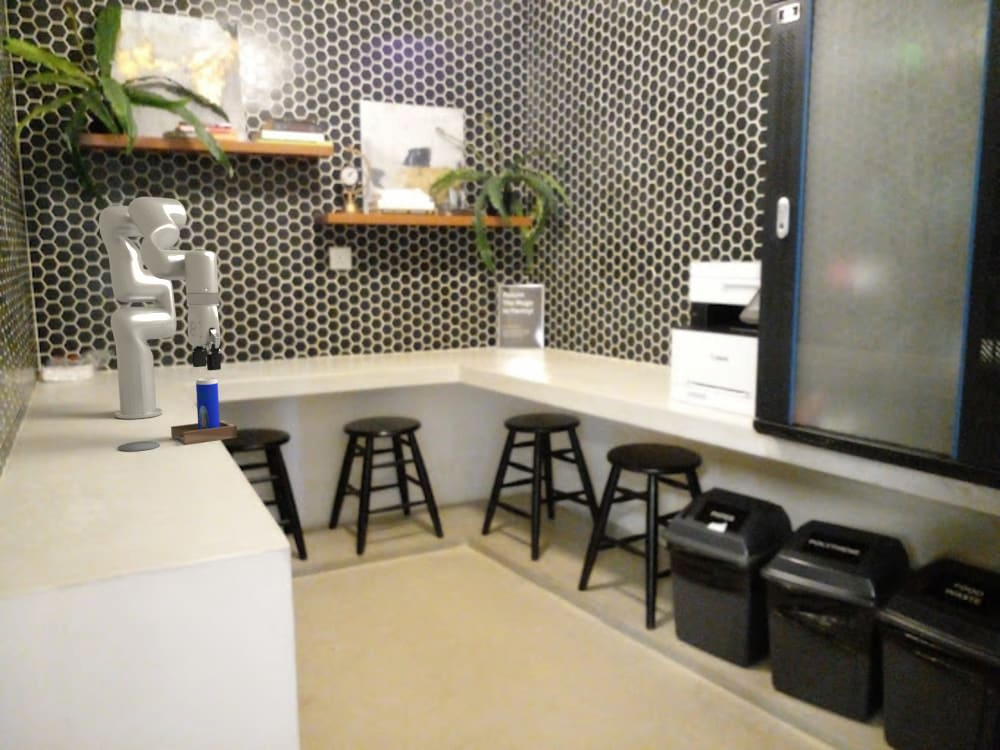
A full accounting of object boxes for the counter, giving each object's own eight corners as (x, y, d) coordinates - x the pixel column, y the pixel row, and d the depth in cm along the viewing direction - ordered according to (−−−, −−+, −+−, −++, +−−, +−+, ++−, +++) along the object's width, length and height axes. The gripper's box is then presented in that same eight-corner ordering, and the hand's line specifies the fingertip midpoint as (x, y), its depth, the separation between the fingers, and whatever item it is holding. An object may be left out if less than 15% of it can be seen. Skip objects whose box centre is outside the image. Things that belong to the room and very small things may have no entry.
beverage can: (194, 437, 192) (191, 379, 190) (213, 434, 196) (210, 377, 194) (205, 440, 189) (202, 381, 187) (224, 436, 193) (221, 379, 191)
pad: (113, 446, 182) (113, 444, 182) (152, 441, 188) (152, 439, 188) (124, 453, 175) (124, 451, 175) (164, 447, 181) (164, 445, 181)
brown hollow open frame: (171, 438, 191) (170, 426, 191) (222, 431, 200) (221, 420, 199) (185, 444, 184) (184, 432, 183) (237, 437, 192) (236, 425, 192)
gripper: (175, 300, 192) (179, 366, 194) (200, 301, 179) (204, 372, 181) (205, 299, 196) (209, 364, 199) (231, 300, 184) (235, 370, 186)
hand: (206, 368), depth 190 cm, fingers open, 9 cm apart
